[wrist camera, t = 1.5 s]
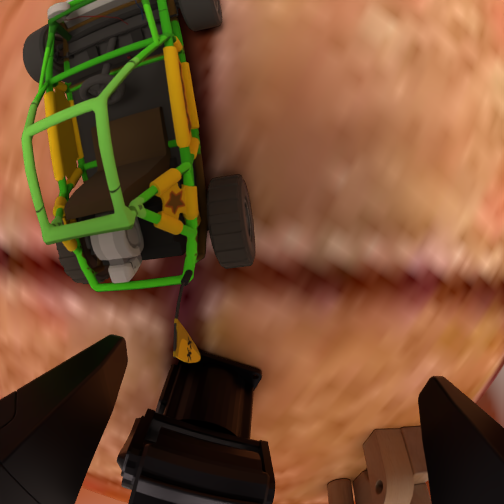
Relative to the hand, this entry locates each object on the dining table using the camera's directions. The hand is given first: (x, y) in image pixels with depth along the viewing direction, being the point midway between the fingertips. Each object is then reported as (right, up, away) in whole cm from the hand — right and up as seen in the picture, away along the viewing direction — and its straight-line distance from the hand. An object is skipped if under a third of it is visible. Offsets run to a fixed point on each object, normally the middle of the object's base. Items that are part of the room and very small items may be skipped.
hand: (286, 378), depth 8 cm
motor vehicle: (-7, +11, +10) cm, 17 cm away
